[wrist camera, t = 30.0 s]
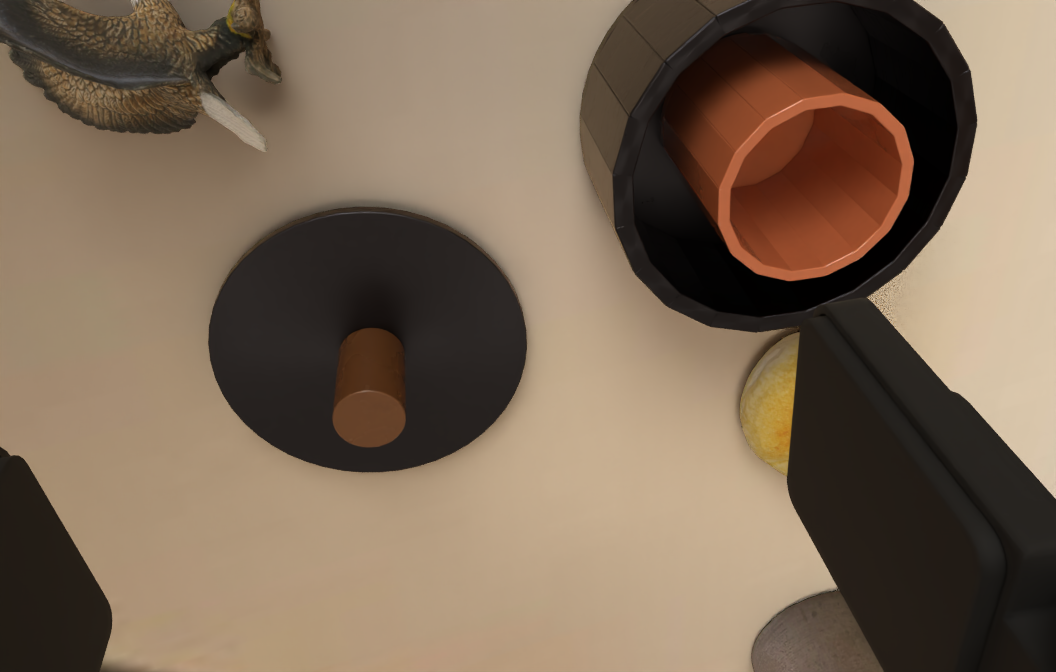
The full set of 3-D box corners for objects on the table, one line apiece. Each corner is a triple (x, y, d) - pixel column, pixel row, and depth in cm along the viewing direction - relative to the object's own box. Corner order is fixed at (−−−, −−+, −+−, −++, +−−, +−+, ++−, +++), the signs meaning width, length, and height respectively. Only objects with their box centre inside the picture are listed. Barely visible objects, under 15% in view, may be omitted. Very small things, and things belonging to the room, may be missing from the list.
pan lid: (169, 225, 34) (133, 298, 30) (506, 178, 35) (523, 241, 30) (260, 477, 42) (243, 566, 37) (537, 433, 43) (554, 516, 38)
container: (658, 43, 32) (720, 110, 26) (826, 21, 33) (927, 81, 27) (660, 201, 36) (716, 293, 30) (812, 179, 36) (898, 265, 30)
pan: (568, -34, 31) (604, 9, 26) (906, -78, 32) (1011, -45, 26) (589, 270, 38) (620, 354, 33) (866, 229, 39) (943, 305, 33)
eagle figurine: (222, -149, 27) (-97, -102, 25) (270, 23, 24) (-83, 90, 22) (269, 32, 34) (22, 80, 32) (311, 182, 31) (44, 242, 29)
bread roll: (836, 283, 40) (876, 330, 37) (930, 387, 44) (974, 437, 41) (696, 395, 42) (722, 448, 39) (798, 483, 47) (829, 538, 43)
